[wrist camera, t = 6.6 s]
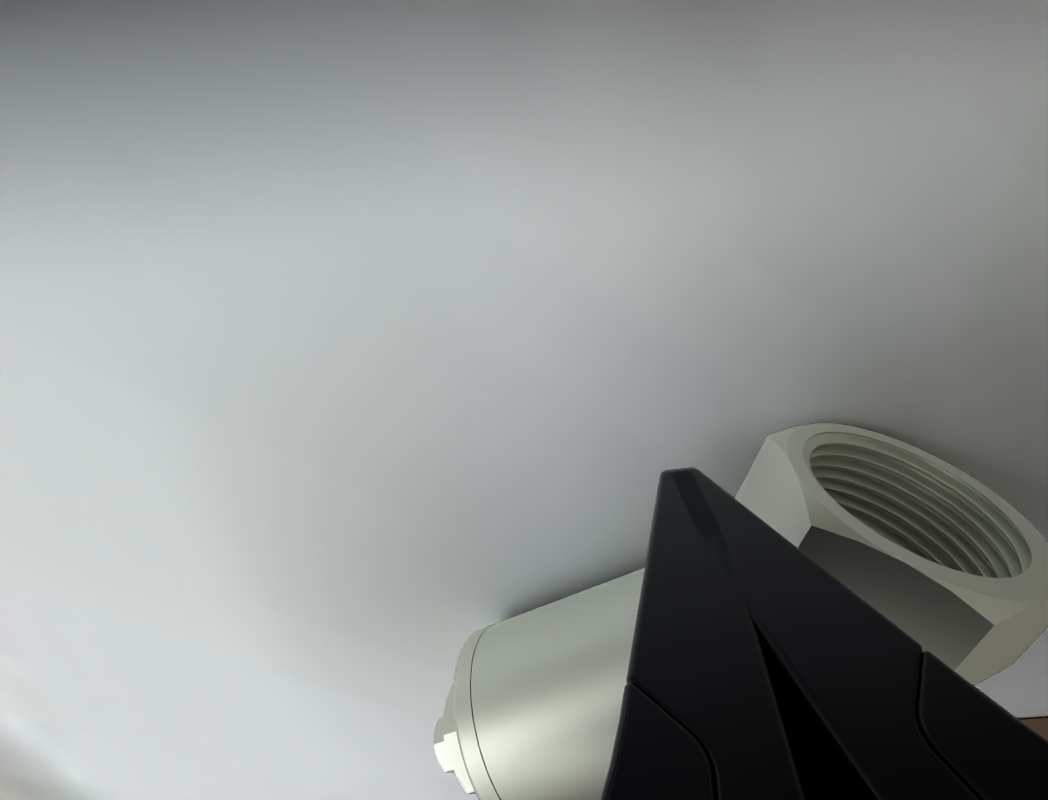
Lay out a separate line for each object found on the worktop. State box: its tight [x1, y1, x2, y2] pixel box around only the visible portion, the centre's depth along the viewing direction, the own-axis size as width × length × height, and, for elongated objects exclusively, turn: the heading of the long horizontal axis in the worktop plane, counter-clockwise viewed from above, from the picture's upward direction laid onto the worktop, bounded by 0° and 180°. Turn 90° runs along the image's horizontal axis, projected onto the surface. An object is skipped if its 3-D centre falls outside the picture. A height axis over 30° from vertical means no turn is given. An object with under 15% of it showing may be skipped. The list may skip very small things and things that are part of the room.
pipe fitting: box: [434, 423, 1048, 800], centre depth 10 cm, size 8×4×7 cm
